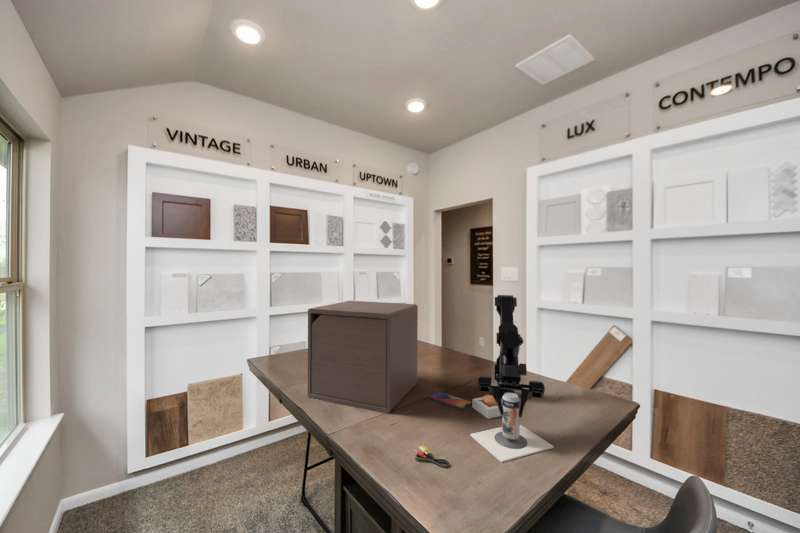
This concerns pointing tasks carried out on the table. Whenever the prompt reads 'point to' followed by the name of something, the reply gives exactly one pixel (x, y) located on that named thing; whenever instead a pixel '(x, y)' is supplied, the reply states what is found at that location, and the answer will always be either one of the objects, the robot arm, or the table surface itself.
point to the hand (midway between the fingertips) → (511, 415)
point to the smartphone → (451, 400)
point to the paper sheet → (511, 443)
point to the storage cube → (362, 353)
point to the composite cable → (429, 457)
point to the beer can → (511, 416)
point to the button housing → (485, 408)
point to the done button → (489, 400)
